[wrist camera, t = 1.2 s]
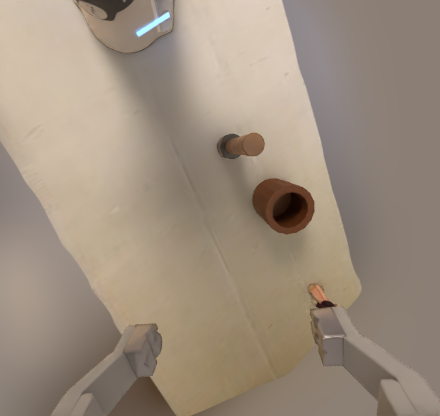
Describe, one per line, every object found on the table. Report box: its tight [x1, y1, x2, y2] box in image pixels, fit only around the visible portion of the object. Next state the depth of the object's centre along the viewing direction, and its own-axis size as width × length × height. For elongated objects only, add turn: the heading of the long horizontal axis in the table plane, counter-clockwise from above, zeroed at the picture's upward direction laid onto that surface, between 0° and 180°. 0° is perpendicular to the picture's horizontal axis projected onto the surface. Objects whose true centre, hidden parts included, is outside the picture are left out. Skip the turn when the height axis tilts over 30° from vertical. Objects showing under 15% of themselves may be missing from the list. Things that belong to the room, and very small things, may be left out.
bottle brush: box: [217, 133, 264, 159], centre depth 39 cm, size 5×5×24 cm
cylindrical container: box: [252, 178, 314, 234], centre depth 50 cm, size 10×10×11 cm
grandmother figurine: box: [308, 285, 337, 308], centre depth 57 cm, size 8×4×13 cm, turn 83°
